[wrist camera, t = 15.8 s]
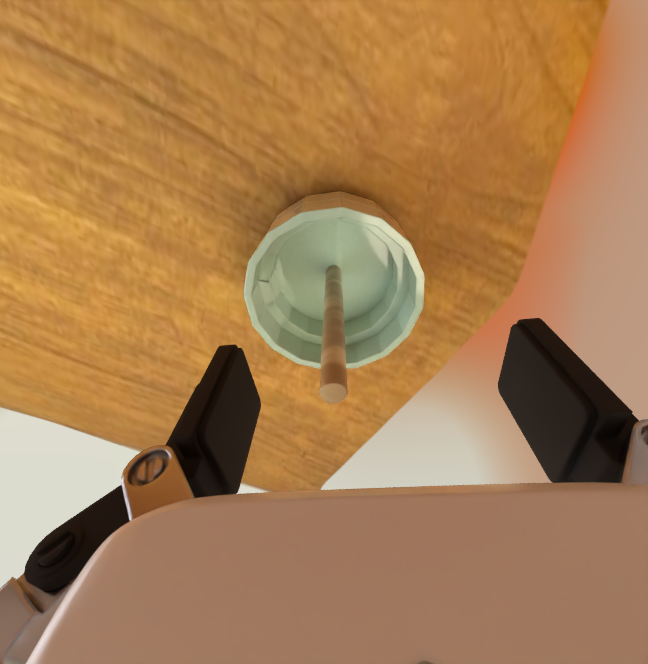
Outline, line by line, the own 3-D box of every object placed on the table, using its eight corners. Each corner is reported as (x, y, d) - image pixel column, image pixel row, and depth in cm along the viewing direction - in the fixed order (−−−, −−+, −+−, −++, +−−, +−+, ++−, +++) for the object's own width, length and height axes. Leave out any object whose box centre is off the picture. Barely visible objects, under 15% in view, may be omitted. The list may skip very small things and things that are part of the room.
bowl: (409, 180, 24) (428, 195, 19) (407, 324, 32) (420, 362, 27) (243, 202, 26) (221, 222, 21) (277, 336, 33) (267, 375, 28)
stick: (340, 264, 28) (346, 382, 15) (342, 278, 28) (348, 402, 16) (324, 265, 28) (317, 384, 15) (326, 280, 29) (321, 404, 16)
